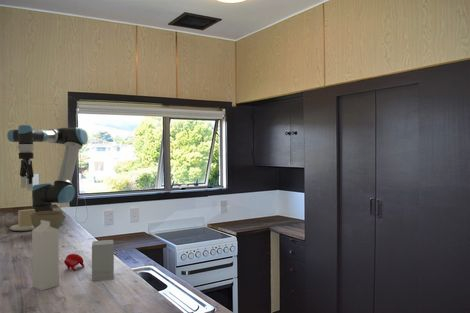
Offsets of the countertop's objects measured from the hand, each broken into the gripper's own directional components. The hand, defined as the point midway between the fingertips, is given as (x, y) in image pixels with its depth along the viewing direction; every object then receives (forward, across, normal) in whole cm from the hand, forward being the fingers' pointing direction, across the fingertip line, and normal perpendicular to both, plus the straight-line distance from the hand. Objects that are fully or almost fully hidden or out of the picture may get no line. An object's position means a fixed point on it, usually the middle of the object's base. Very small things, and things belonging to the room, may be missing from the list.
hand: (26, 188), depth 226 cm
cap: (+23, +96, -7) cm, 99 cm away
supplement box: (+23, +113, -3) cm, 116 cm away
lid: (+22, 0, 0) cm, 23 cm away
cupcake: (+23, +1, +16) cm, 28 cm away
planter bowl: (+23, +19, +5) cm, 31 cm away
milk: (+22, +109, -21) cm, 114 cm away
